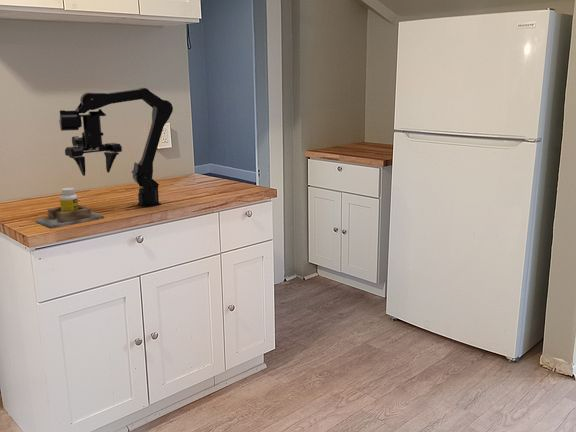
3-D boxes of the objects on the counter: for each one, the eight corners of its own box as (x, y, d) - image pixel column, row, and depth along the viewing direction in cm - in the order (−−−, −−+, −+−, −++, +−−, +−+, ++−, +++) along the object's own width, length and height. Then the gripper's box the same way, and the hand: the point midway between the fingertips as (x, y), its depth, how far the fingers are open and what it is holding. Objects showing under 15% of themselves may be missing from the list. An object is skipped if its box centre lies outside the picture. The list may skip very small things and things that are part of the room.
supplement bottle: (76, 219, 184) (74, 190, 181) (59, 219, 183) (56, 190, 181) (80, 215, 189) (78, 186, 187) (64, 215, 188) (61, 187, 186)
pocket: (86, 212, 196) (85, 201, 196) (104, 218, 188) (103, 207, 188) (35, 221, 184) (34, 210, 183) (51, 228, 176) (50, 216, 175)
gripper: (105, 126, 205) (108, 168, 209) (55, 129, 192) (60, 174, 196) (121, 128, 198) (124, 171, 202) (70, 132, 185) (75, 178, 188)
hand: (96, 174), depth 197 cm, fingers open, 9 cm apart
